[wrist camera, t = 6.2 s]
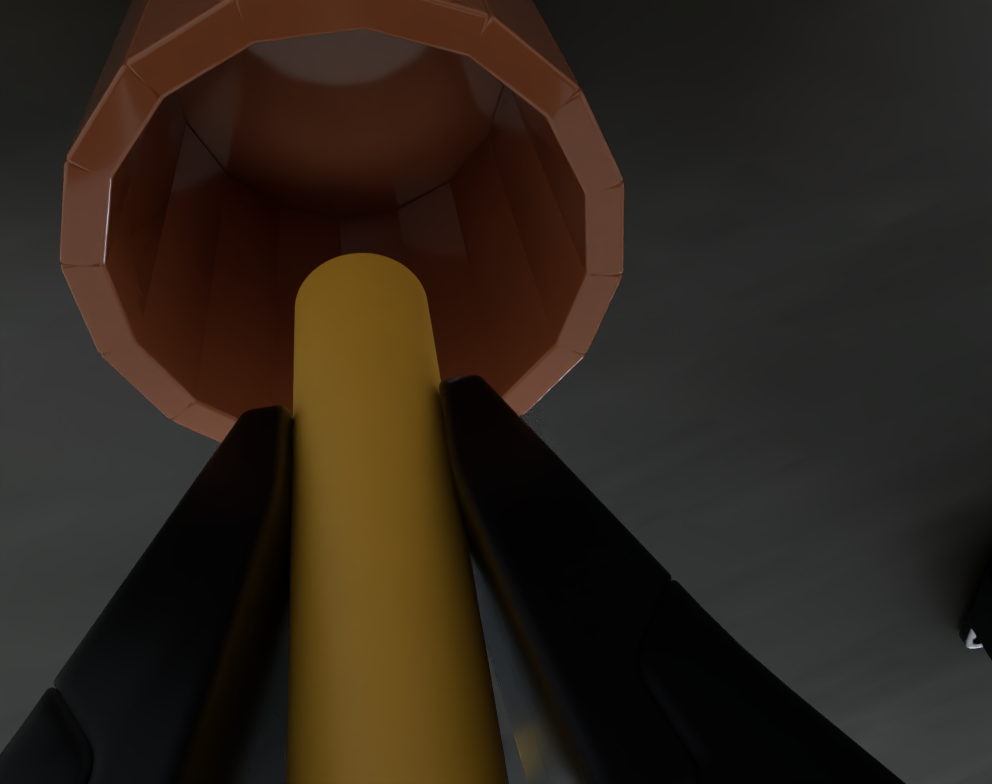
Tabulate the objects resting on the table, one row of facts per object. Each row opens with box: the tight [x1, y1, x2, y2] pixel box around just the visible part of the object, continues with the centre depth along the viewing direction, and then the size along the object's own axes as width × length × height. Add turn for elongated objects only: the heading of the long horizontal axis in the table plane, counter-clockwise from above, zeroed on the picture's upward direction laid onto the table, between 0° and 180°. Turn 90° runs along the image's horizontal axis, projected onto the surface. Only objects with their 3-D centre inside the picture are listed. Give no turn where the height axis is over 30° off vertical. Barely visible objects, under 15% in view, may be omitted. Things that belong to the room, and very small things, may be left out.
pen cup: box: [59, 0, 625, 443], centre depth 14 cm, size 7×7×7 cm
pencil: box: [286, 253, 509, 784], centre depth 8 cm, size 2×2×7 cm
